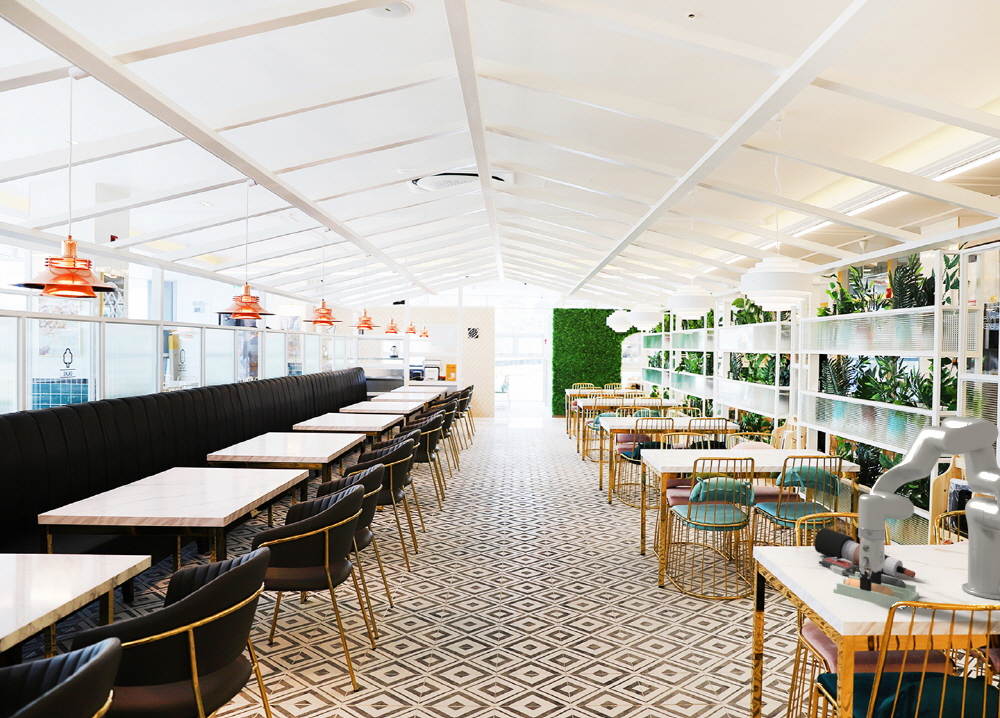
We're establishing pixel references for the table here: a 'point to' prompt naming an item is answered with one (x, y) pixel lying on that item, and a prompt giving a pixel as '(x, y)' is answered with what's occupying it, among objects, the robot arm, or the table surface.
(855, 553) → the cable
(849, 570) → the walkie-talkie
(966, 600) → the table surface
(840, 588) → the rack
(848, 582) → the tan capsule
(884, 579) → the gray pill-shaped rod
